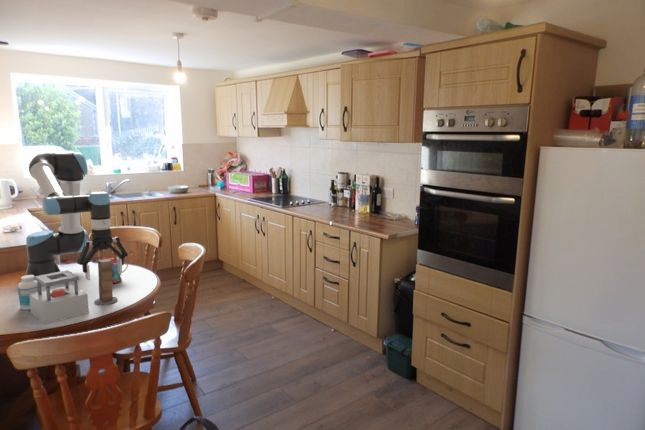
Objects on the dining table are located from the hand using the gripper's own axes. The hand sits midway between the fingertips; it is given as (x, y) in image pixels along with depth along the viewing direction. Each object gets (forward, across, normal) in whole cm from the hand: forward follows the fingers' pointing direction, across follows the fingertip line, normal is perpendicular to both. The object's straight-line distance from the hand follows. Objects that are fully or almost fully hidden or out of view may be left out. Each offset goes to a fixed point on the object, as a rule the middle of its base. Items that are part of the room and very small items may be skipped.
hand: (104, 276), depth 186 cm
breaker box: (+12, -18, +1) cm, 21 cm away
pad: (+12, 0, 0) cm, 12 cm away
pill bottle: (+12, -24, +16) cm, 31 cm away
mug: (+12, +15, +24) cm, 31 cm away
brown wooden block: (+11, 0, 0) cm, 11 cm away
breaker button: (+10, -18, +1) cm, 21 cm away
